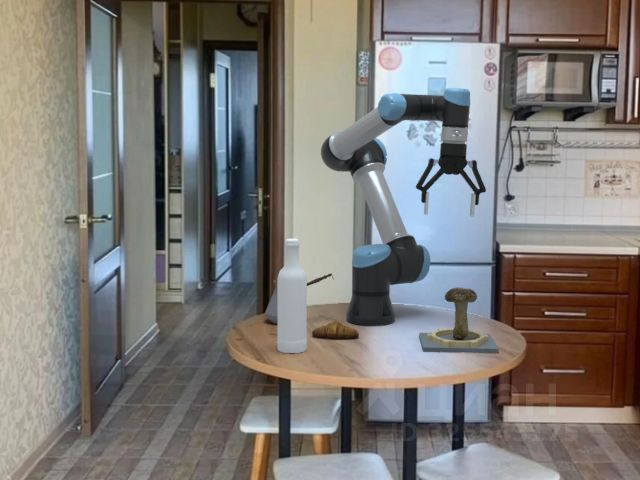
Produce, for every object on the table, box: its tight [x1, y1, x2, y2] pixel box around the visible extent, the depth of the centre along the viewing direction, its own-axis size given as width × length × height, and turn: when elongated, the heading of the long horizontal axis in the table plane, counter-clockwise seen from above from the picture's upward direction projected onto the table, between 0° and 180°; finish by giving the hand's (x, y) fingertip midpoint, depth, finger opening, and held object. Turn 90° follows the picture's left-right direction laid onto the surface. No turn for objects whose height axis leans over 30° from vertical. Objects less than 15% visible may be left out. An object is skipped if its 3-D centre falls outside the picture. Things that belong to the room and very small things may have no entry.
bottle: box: [276, 238, 308, 354], centre depth 209 cm, size 8×8×30 cm
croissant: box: [311, 320, 360, 340], centre depth 224 cm, size 14×7×5 cm, turn 83°
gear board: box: [418, 328, 500, 354], centre depth 217 cm, size 20×16×3 cm
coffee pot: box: [264, 273, 335, 325], centre depth 243 cm, size 21×12×15 cm, turn 95°
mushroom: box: [444, 286, 478, 341], centre depth 215 cm, size 9×9×15 cm
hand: (448, 215), depth 231 cm, fingers open, 13 cm apart
